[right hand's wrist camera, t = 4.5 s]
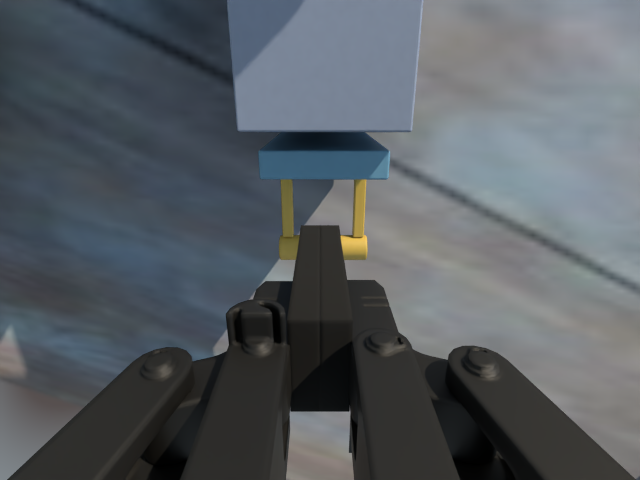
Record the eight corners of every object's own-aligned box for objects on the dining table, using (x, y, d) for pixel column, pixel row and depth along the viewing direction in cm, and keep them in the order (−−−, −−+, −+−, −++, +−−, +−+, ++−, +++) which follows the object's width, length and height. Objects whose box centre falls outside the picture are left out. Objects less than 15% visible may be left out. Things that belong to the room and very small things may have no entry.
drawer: (360, 229, 26) (380, 297, 17) (285, 229, 26) (266, 297, 17) (381, -269, 17) (447, -671, 8) (267, -269, 17) (208, -670, 8)
